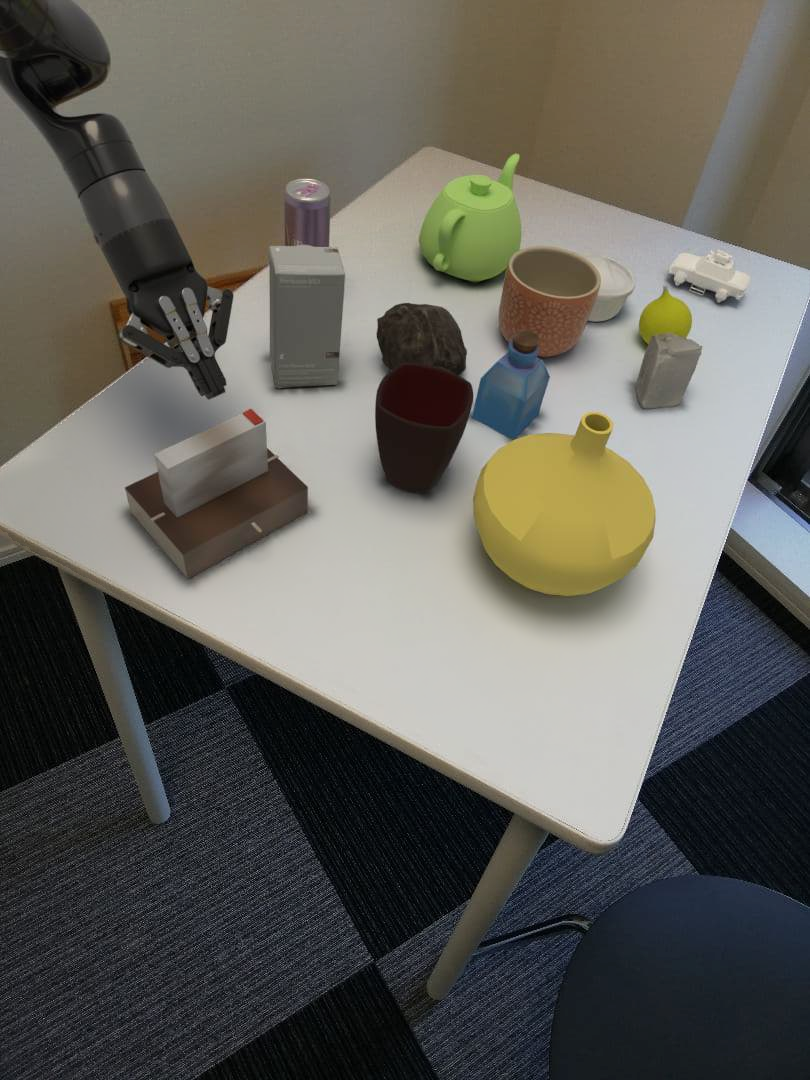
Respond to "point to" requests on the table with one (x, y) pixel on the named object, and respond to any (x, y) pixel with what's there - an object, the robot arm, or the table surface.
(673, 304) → the ornament
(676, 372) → the mineral specimen
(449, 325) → the rock
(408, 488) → the mug
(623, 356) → the table surface
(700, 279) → the toy car
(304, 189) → the beverage can
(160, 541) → the brown rectangular plinth
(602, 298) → the ramekin
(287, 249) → the cosmetic box
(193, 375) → the robot arm
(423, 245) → the teapot
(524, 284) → the planter
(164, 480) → the red-tipped metal bar
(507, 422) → the perfume bottle
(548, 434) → the vase
